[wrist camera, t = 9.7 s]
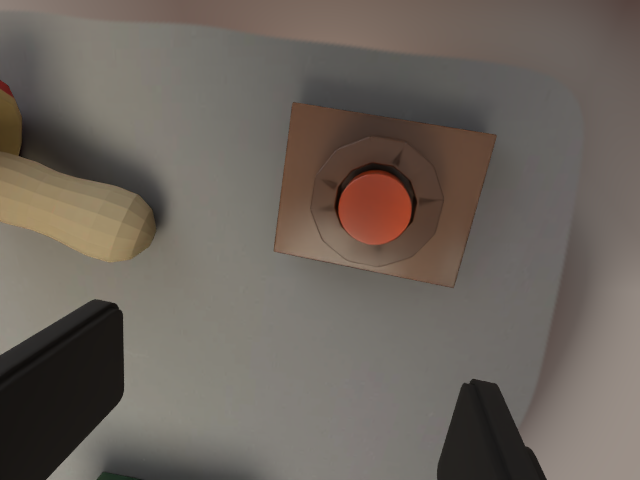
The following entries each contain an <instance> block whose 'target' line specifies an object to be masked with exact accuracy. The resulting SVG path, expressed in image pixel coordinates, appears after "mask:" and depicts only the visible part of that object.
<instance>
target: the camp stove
mask: <svg viewBox="0 0 640 480" xmlns="http://www.w3.org/2000/svg"><path fill="white" fill-rule="evenodd" d="M97 480H141V479H136V478H131V477H126V476H121V475H116V474H111V473H106V472H103V473H102V474H101V475H100V476H99V477H98V479H97Z"/></svg>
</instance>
